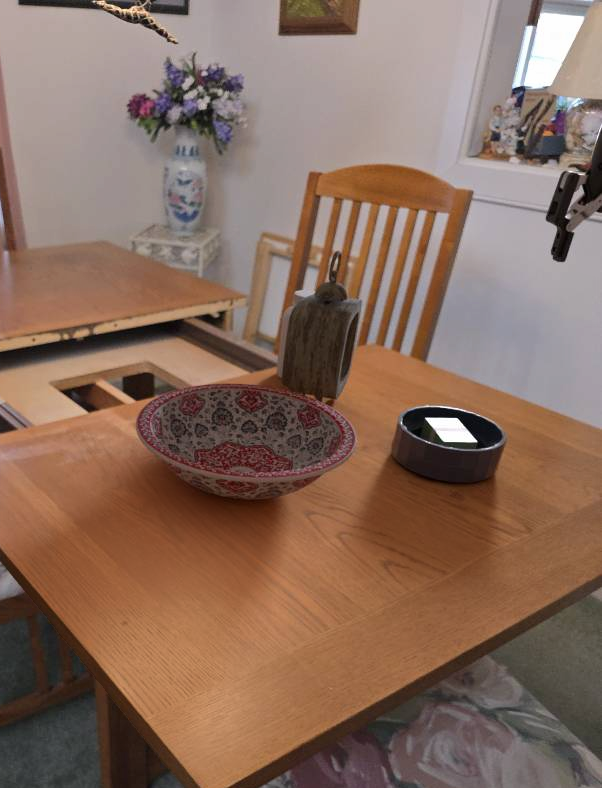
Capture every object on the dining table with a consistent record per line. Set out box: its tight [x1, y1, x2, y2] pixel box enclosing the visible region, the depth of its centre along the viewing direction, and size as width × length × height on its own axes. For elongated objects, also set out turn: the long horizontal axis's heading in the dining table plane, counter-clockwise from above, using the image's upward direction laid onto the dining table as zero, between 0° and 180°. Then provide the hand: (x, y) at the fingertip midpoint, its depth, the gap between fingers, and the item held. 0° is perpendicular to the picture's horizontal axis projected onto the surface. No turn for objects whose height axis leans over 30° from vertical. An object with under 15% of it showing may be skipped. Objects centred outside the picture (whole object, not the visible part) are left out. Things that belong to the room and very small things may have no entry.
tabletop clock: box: [281, 250, 363, 403], centre depth 112 cm, size 14×9×25 cm, turn 160°
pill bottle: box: [276, 289, 316, 379], centre depth 127 cm, size 8×8×15 cm
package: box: [420, 418, 478, 449], centre depth 103 cm, size 5×8×4 cm, turn 3°
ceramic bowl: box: [135, 383, 357, 500], centre depth 95 cm, size 29×29×8 cm
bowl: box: [390, 405, 508, 483], centre depth 104 cm, size 15×15×6 cm
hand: (589, 262), depth 93 cm, fingers open, 8 cm apart
